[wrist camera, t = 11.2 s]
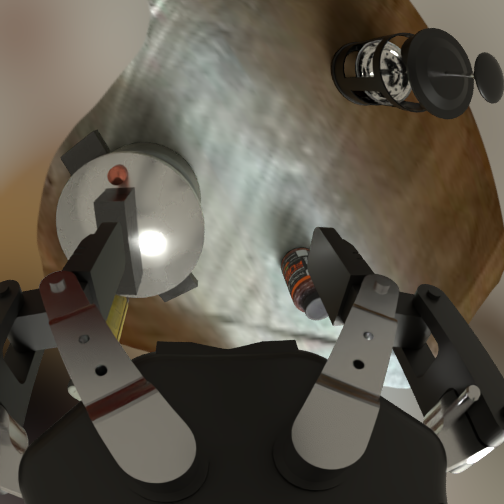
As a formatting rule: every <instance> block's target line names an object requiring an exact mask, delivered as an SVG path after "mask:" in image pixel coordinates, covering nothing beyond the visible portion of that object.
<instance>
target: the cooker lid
mask: <svg viewBox="0 0 504 504" xmlns="http://www.w3.org/2000/svg"><path fill="white" fill-rule="evenodd" d="M102 222H120V224H121V227H122V235H123V243H124V251H125V270H124V273H123V275H122V278H121V281H120V283H119V286H118V289H117V292H116V294H115V295H119V296H124V297H133V298H140V297H149V296H154V295H158V294H161V293H164V292H166V291H168V290H170V289H172V288H174V287H175V286H177V285H178V284H180V283H181V282H182V281H183V280H184V279H185V278H186V277H187V276H188V275H189V274H190V273H191V271H192V270H193V269H194V267H195V265H196V264H197V262H198V260H199V257H200V255H201V252H202V248H203V243H204V217H203V212H202V208H201V205H200V202H199V199H198V197H197V195H196V193H195V191H194V189H193V188H192V187H191V185H190V184H189V182H188V181H187V180H186V179H185V178H184V176H183V175H182V174H181V173H180V172H179V171H177V170H176V169H175V168H174V167H173V166H171V165H170V164H168V163H166V162H165V161H163V160H161V159H159V158H157V157H155V156H152V155H149V154H145V153H141V152H135V151H118V152H111V153H108V154H104V155H101V156H99V157H97V158H95V159H93V160H91V161H90V162H88V163H87V164H85V165H84V166H82V167H81V168H80V169H79V170H77V171H76V172H75V173H74V174H73V175H72V177H71V178H70V179H69V180H68V182H67V183H66V185H65V187H64V189H63V191H62V193H61V195H60V198H59V202H58V206H57V212H56V227H57V234H58V238H59V241H60V244H61V247H62V249H63V252H64V253H65V255H66V257H67V259H68V260H69V259H70V257H71V256H72V254H73V252H74V251H75V249H77V246H78V245H79V244H80V242H81V241H82V240H83V239H84V238H85V237H87V236H88V235H90V234H94V233H95V232H96V230H97V229H98V227H99V226H100V225H101V223H102Z"/></svg>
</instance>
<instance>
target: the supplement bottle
mask: <svg viewBox="0 0 504 504" xmlns="http://www.w3.org/2000/svg"><path fill="white" fill-rule="evenodd" d="M309 251H310V249H308V248H296V249H293V250H292V251H290V252H288V253H287V254H286V255H285V257H284V258H283V260H282V263H281V270H282V274H283V276H284V279H285V281H286V284H287V287H288V290H289V292H290V295H291V298H292V300H293V302H294V305H295V306H296V307H297V308H298V309H299V310H300V311H302V312H305V314H306V316H307V317H308V318H309V319H311V320H321V319H324V318H326V317H328V314H327V312H326V309H325V307H324V305H323V303H322V301H321V299H320V296H319V294H318V292H317V290H316V288H315V286H314V284H313V282H312V280H311V277H310V275H309V273H308V269H307V260H308V255H309Z"/></svg>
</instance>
